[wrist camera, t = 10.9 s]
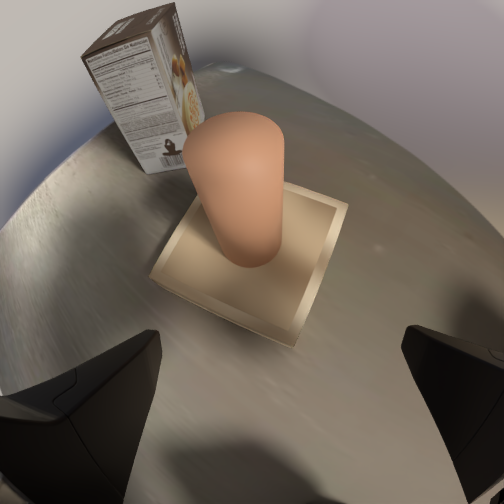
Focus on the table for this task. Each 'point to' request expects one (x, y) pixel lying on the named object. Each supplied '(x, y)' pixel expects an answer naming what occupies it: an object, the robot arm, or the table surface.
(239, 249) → the peach rounded peg
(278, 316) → the square tray
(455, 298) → the table surface
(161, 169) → the coffee box
